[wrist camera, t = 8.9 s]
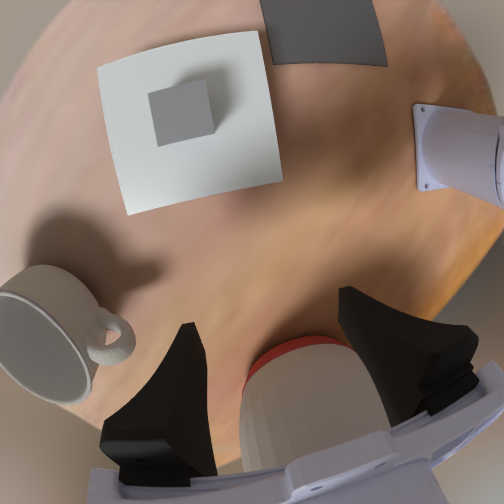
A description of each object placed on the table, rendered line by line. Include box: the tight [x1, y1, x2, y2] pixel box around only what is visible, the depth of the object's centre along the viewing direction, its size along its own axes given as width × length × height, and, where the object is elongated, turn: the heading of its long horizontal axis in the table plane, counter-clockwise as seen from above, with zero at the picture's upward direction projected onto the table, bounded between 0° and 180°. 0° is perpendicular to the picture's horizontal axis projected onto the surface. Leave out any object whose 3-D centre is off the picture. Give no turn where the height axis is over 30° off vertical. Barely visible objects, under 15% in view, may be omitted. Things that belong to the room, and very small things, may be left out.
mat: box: [260, 0, 388, 67], centre depth 14 cm, size 10×10×1 cm
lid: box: [97, 31, 283, 215], centre depth 12 cm, size 9×9×4 cm
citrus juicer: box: [239, 335, 391, 472], centre depth 20 cm, size 16×17×20 cm
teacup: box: [0, 265, 136, 405], centre depth 18 cm, size 14×11×8 cm
